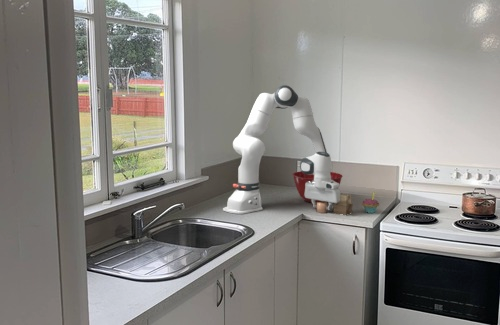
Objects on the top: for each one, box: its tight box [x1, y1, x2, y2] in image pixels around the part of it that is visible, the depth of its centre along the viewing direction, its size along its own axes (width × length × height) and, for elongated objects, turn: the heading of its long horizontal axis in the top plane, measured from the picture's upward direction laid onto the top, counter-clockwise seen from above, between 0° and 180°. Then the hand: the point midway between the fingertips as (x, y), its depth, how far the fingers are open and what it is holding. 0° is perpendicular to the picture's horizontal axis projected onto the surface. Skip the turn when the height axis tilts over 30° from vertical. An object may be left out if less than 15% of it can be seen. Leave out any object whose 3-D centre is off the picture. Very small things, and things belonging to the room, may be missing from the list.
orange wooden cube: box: [316, 202, 328, 214], centre depth 272 cm, size 5×5×5 cm
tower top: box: [335, 192, 352, 206], centre depth 268 cm, size 6×6×5 cm
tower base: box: [333, 203, 354, 216], centre depth 269 cm, size 7×7×5 cm
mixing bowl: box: [292, 170, 343, 204], centre depth 297 cm, size 28×28×15 cm
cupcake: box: [361, 190, 380, 214], centre depth 271 cm, size 9×8×12 cm
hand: (321, 208), depth 272 cm, fingers open, 7 cm apart
